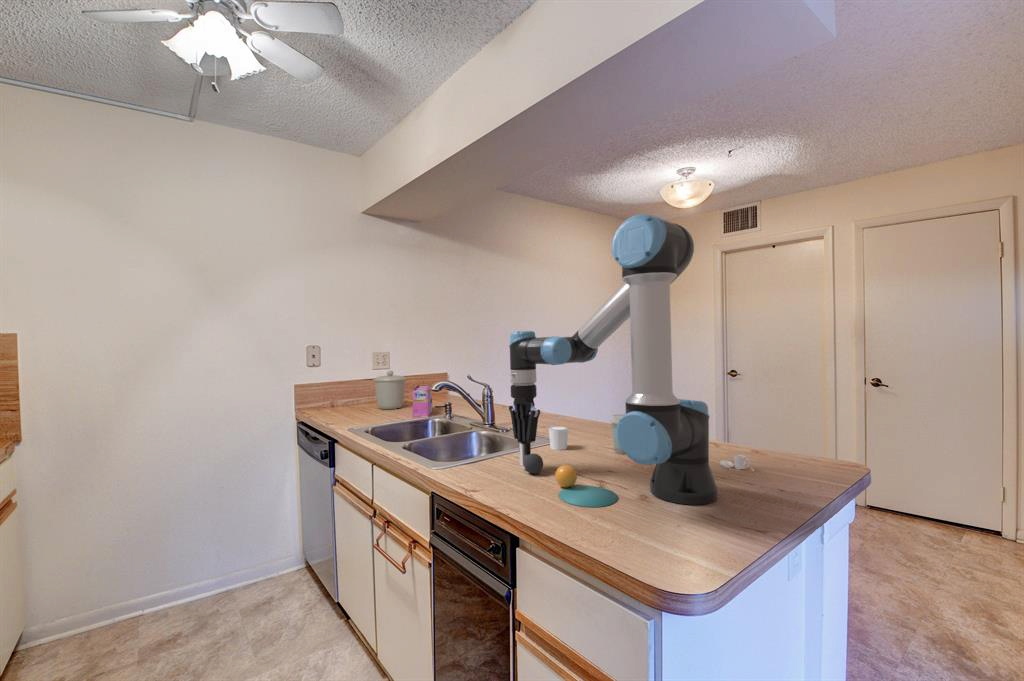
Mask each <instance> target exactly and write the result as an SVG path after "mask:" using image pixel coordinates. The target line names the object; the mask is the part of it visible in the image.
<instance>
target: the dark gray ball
mask: <svg viewBox="0 0 1024 681" xmlns="http://www.w3.org/2000/svg"><path fill="white" fill-rule="evenodd" d="M523 467H524V469H525V471H526V472H528V473H530V474H532V475H533V474H534V475H535V474H538V473H540V472H541V471H542V470H543V467H544V460H543V458H542V456H540V454H538V453H530V454H529V455H528V456H527V457H526V458H525V460H524V466H523Z"/></svg>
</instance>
